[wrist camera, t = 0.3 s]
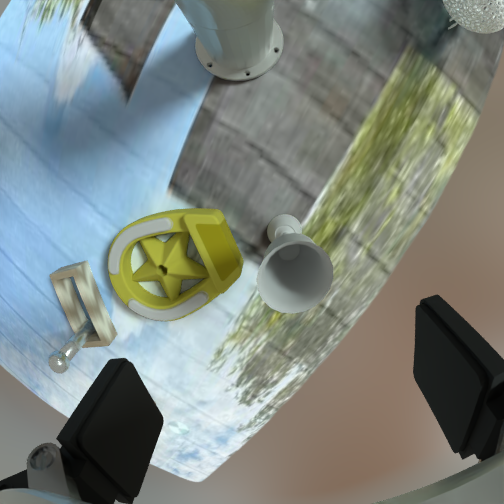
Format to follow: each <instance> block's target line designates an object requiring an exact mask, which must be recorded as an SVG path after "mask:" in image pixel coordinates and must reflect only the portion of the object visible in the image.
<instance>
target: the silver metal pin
mask: <svg viewBox="0 0 504 504" xmlns="http://www.w3.org/2000/svg"><path fill="white" fill-rule="evenodd" d="M95 331H96V329H95V327H94V325H93V323H92V320H91V318H90V319H89V320H88V321H87V322H86V323H85V324H84V325H83V326H82V327H81V328H80V329H79V330H78V331H77V332H76V333H75V334H74V335H73V336H72V337H71V338H70V340H69V341H68V342H67V343H66V344H65V345H64V346H63V347H62V348H61V349H60V350H59V351H54V352H53V353H51V355H50V356H49V366H50V368H51V369H52V370H53V371H54V372H56V373H64V372H66V371H67V370H68V368H69V361H70V360H71V359H72V358H73V357H74V355H75V354H76V353H77V352H78V351H79V350H80V348H81V347H82V346H83V345H84V344H85V343H86V341H87V340H88V339H89V338H90V337H91V336H92V335H93V333H94V332H95Z"/></svg>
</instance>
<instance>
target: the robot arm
mask: <svg viewBox="0 0 504 504" xmlns="http://www.w3.org/2000/svg"><path fill="white" fill-rule="evenodd" d="M174 1H175V2H176V4H177V5H178V6H179V8H180V9H181V11H182V13H183V14H184V16H185V17H186V19H187V21H188V22H189V24H190V25H191V27H192V29H193V30H194V32H195V34H196V35H197V37H196V42H195V49H196V54H197V57H198V59H199V61H200V62H201V64H202V65H203V66H204V68H205V69H206V70H207V71H209V72H210V73H211V74H213V75H215V76H217V77H219V78H222V79H225V80H231V81H245V80H250V79H254V78H256V77H259V76H261V75H263V74H265V73H266V72H268V71H269V70H270V69H271V68H273V66H274V65H275V64H276V63H277V62H278V60H279V58H280V56H281V54H282V50H283V44H284V42H283V34H282V31H281V29H280V27H279V25H278V24H277V22H276V21H275V20H274V0H174ZM275 51H278V53H275ZM210 65H212V67H211V68H210V67H209V66H210ZM247 73H248V74H250V75H249V76H246V74H247ZM415 319H416V320H415V352H414V367H413V374H414V378H415V381H416V383H417V384H418V386H419V388H420V390H421V391H422V393H423V395H424V397H425V399H426V400H427V402H428V404H429V406H430V408H431V410H432V412H433V413H434V415H435V417H436V419H437V421H438V423H439V425H440V427H441V429H442V431H443V432H444V434H445V437H446V439H447V440H448V442H449V444H450V446H451V449H452V450H453V452H454V453H458V452H459V454H460V456H461V458H462V459H465V458H467V457H469V456H470V455H473V454H475V455H476V457H477V458H478V459H479V462H478V464H476V465H474V466H472V467H469V468H467V469H466V470H463V471H461V472H459V473H457V474H455V475H452V476H450V477H448V478H445V479H443V480H440V481H438V482H436V483H433V484H431V485H428V486H425V487H422V488H420V489H417V490H414V491H411V492H409V493H406V494H403V495H400V496H397V497H393V498H390V499H387V500H384V501H380V502H377V503H373V504H504V359H503V358H501V356H500V355H499V354H498V353H497V352H496V351H495V350H494V349H493V348H492V347H491V346H490V345H489V343H488V342H487V341H486V340H485V339H484V338H483V337H482V336H481V335H480V334H479V333H478V332H477V331H476V330H475V329H474V328H473V327H471V325H470V324H469V323H468V322H467V321H465V320H464V318H463V317H461V316H460V315H459V314H458V313H457V312H456V311H455V310H454V309H453V308H452V307H451V306H450V305H449V304H448V303H447V302H446V301H445V300H443V299H442V298H441V297H440V296H439V295H434V296H431V297H428V298H425V299H422V300H421V301H420V305H418V306H416V318H415ZM162 426H163V416H162V414H161V412H160V411H159V409H158V407H157V406H156V404H155V402H154V401H153V399H152V397H151V396H150V394H149V392H148V390H147V389H146V387H145V385H144V383H143V382H142V380H141V378H140V376H139V374H138V372H137V371H136V369H135V367H134V365H133V364H132V363H131V362H129V361H128V360H127V359H126V358H118V359H110V360H109V361H108V362H107V364H106V365H105V367H104V368H103V369H102V371H101V372H100V374H99V375H98V377H97V378H96V379H95V381H94V382H93V384H92V385H91V387H90V388H89V390H88V391H87V393H86V394H85V396H84V397H83V399H82V400H81V401H80V403H79V404H78V406H77V407H76V409H75V410H74V412H73V414H72V415H71V417H70V418H69V420H68V421H67V423H66V424H65V426H64V427H63V429H62V430H61V432H60V434H59V435H58V437H57V438H56V439H57V440H58V441H59V442H60V444H61V445H62V447H61V448H59V447H58V446H57V445H56V444H53V443H44V444H41V445H39V446H37V447H36V448H35V449H33V451H32V452H31V453H30V454H29V456H28V459H27V469H26V470H24V471H22V472H20V473H17V474H15V475H13V476H10V477H8V478H6V479H3V480H1V481H0V504H114V502H115V499H116V500H117V501H118V502H121V503H126V504H132V503H133V500H134V498H135V497H137V496H138V494H139V491H140V489H141V486H142V483H143V480H144V477H145V474H146V472H147V469H148V466H149V463H150V460H151V457H152V454H153V452H154V449H155V446H156V443H157V440H158V437H159V435H160V432H161V429H162Z"/></svg>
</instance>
